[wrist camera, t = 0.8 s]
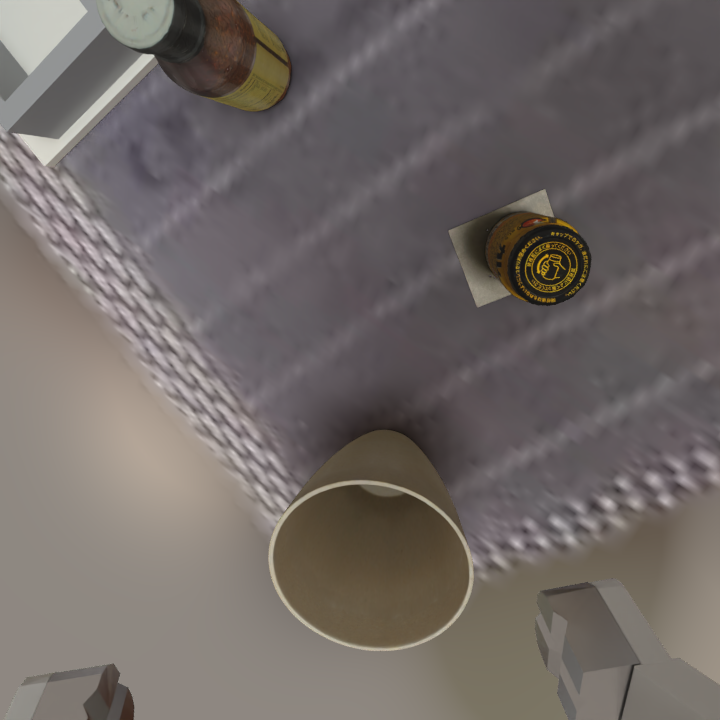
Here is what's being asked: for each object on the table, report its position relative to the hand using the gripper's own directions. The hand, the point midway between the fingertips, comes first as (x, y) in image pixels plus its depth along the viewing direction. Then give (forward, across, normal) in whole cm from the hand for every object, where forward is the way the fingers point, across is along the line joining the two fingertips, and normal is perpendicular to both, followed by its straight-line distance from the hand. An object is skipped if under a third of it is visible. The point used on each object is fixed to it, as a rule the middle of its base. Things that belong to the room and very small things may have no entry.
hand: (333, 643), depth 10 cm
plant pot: (+35, -4, +25) cm, 44 cm away
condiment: (+37, -17, +5) cm, 41 cm away
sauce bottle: (+44, +2, -10) cm, 45 cm away
